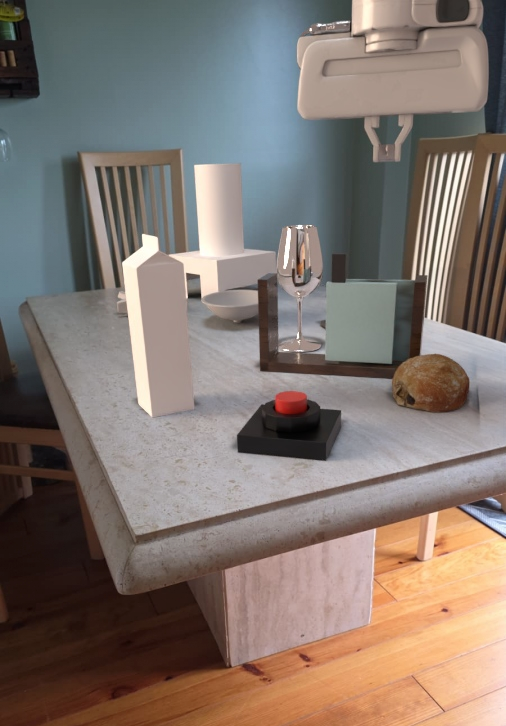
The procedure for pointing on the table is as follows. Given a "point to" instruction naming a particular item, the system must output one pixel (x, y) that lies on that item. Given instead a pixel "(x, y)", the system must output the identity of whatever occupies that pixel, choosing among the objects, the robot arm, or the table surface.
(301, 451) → the button box
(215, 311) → the dish
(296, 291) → the wineglass
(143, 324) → the milk
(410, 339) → the window frame
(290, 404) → the button
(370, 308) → the window
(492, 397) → the table surface
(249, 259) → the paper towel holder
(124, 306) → the bunny figurine
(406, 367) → the bread roll
